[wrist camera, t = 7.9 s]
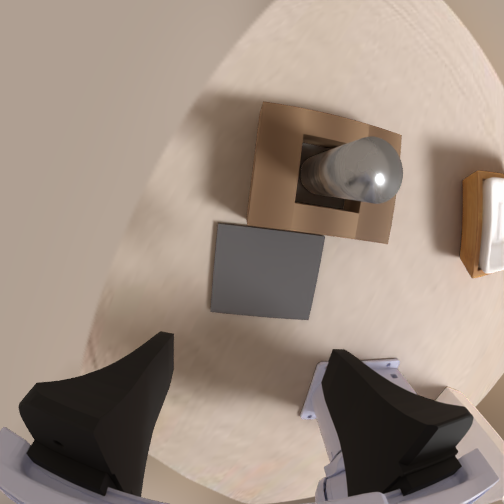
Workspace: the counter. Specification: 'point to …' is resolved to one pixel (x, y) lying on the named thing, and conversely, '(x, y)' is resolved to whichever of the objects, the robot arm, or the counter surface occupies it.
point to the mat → (265, 272)
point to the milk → (480, 443)
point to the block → (287, 170)
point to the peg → (355, 171)
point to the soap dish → (483, 223)
